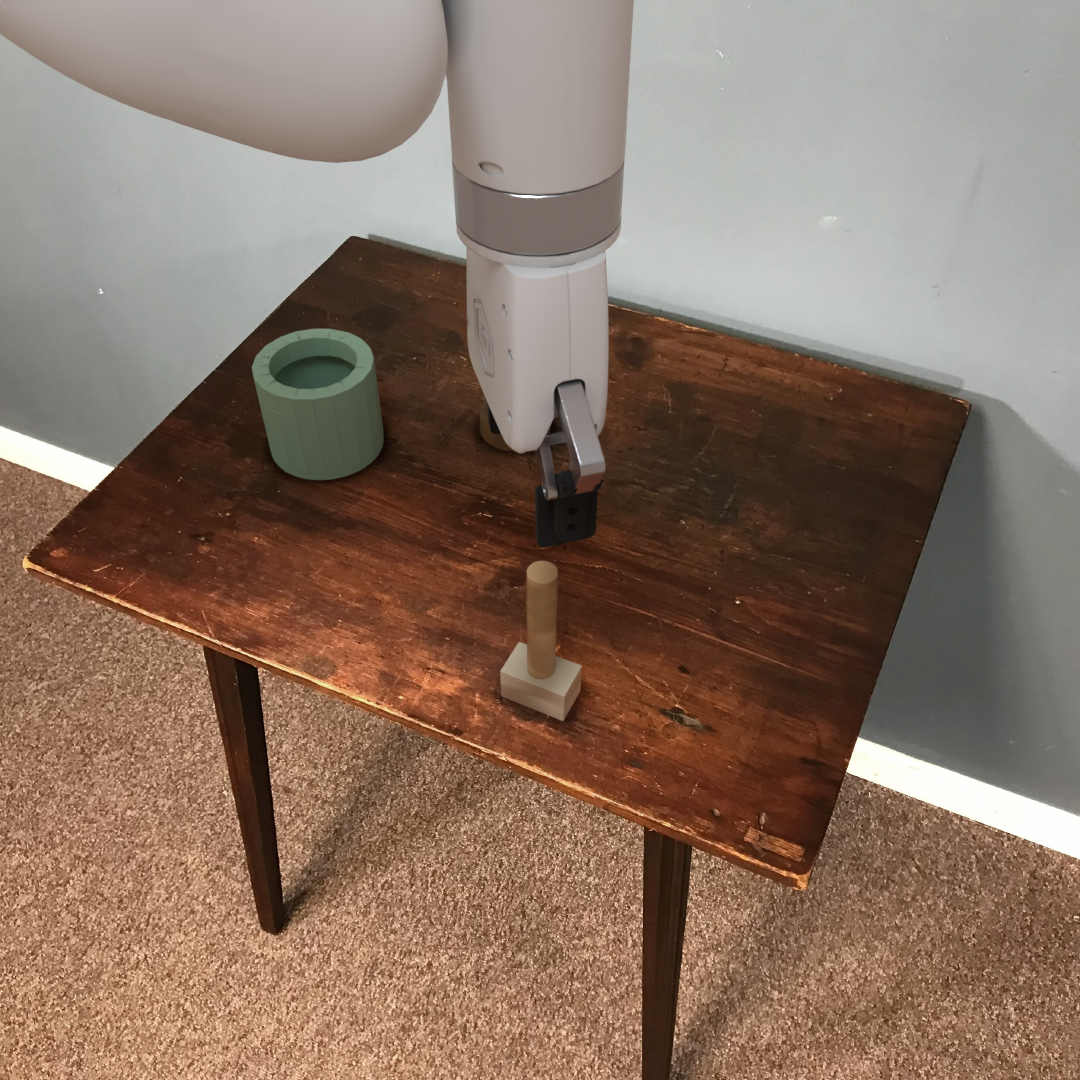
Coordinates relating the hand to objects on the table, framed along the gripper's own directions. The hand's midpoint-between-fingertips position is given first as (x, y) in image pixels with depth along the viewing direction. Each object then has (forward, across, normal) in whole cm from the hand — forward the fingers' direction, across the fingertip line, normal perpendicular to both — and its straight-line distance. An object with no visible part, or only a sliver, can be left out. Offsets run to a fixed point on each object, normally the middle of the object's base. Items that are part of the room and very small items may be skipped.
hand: (539, 480), depth 58 cm
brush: (+22, -1, 0) cm, 22 cm away
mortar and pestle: (+22, -31, +7) cm, 39 cm away
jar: (+22, -34, -10) cm, 42 cm away
